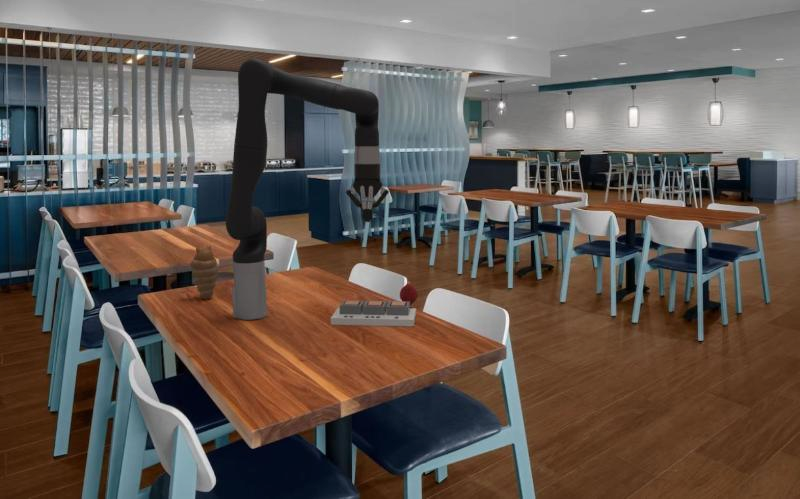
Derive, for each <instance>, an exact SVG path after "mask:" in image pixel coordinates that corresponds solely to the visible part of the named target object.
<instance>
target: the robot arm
mask: <svg viewBox="0 0 800 499" xmlns="http://www.w3.org/2000/svg"><path fill="white" fill-rule="evenodd" d="M237 86H238V89H237V90H238V91H237V92H238V110H237V111H238V112H237V119H236V126H235V135H234V144H233V157H232V159H233V160H232V161H233V162H232V174H231V184H230V193H229V199H228V204H227V209H226V215H225V229H226V232H227V234H228V235H229V237H230V238H232V239H233V240H235V241H239V243H238V245H237V247H236V249H234V251H233V252H232V269H233V270H232V271H233V283H234V284H233V286H232V287H231V294H232V295H231V297H232V315H233V319H239V320H243V321H244V320H245V321H249V320H250V321H251V320H259V319H263V318H265V317H266V316H267V315H268V312H267V310H268V308H267V307H268V306H267V288H266V287H267V285H266V283H267V282H266V270H265V269H266V265H265V264H266V263H265V262H266V260H265V254H266V251H267V248H268V247H267V246H268V245H267V244H268V239H267V238H268V234H267V233H268V228H267V227H268V226H267V219H266V216H265V213H264V211H263V210H261V208H259V207H257V206H253V198H254V194H255V190H256V188H257V185H258V183H259V181H260V180H261V177H262V175H263V172H264V170H265V168H266V165H267V164H266V163H267V155H268V154H267V153H268V132H267V131H268V130H267V123H266V104H267V97H268V94H272V95H273V94H275V95H282V96H287V97H291V98H295V99H299V100H302V101H305V102H307V103H311V104H314V105H318V106H321V107H325V108H329V109H333V110H340V111H341V110H342V111H346V112H350V113H352V114H354V115H355V116H354V117H355V120H354V121H355V128H354V129H355V130H354V152H353V153H354V154H353V157H354V158H353V164H354V167H353V170H354V171H353V172H354V182H353V183H352V187H350V188H349V189H347V190H346V192H345V194H346V195H347V196H348V197H349V198H350V200H351V201H352V202H353V204H354V205H355V206H356V207H357V208H360V209H362V219H363V221H364V222H365V223H371V222H372V221H373V219H374V209H375V208H378V207H379V206H380V205H381V203H383V201H384V200H385V199H386V197H387V195H388V194H389V193H390V191H389V189H386V188H385V187H384V186H383V183H382V180H381V152H380V151H381V150H380V131H379V112H380V110H379V109H380V108H379V107H380V106H379V105H380V104H379V103H380V102H379V99H378V97H377V94H375V93H374V92H372V91H371V90H366V89H363V88H357V87H348V86H345V85H342V84H340V83H336V82H333V81H328V80H324V79H319V78H314V77H307V76H301V75H297V74H293V73H289V72H287V71H284V70H282V69H280V68H277V67H275V66H272V65H271V64H269V63H268V62H266V61H264V60H262V59H259V58H249V59H247V60H245V61H243V62H242V64H241V65H240V66H239V69H238V73H237ZM356 193H357V194H358V196H360V198H361V199H359V198H358V197H357V195H355V194H356ZM378 193H379V195H380V196H379V197H378V199H377V200H376V201H375V202H374V200H375V197H376V196H377V195H378Z"/></svg>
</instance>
